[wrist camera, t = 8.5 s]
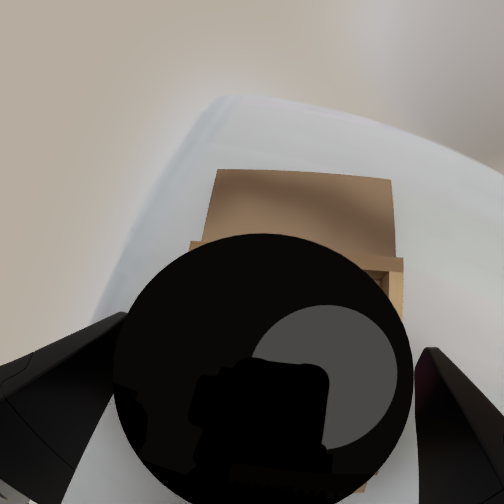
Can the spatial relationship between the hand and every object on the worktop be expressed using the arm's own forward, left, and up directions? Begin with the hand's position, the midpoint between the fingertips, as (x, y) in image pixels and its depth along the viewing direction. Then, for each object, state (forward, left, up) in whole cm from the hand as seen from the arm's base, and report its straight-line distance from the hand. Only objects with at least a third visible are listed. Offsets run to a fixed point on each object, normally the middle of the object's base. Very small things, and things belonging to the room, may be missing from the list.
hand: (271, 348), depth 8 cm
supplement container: (-1, -1, -8) cm, 8 cm away
